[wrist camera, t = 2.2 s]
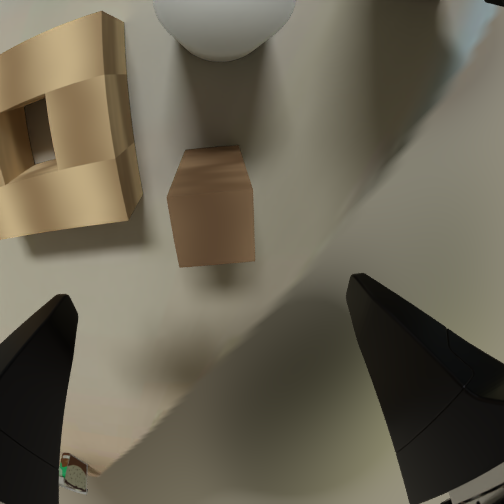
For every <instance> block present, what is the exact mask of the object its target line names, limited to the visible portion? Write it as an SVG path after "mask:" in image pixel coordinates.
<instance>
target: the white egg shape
mask: <svg viewBox="0 0 504 504" xmlns="http://www.w3.org/2000/svg"><path fill="white" fill-rule="evenodd" d="M295 2H296V0H153V5H154V9H155V13H156V15H157V18H158V20H159V21H160V23H161V24H162V26H163V27H164V28H165V29H166V30H167V31H168V32H169V33H170V34H171V35H172V36H173V37H174V38H175V39H176V40H177V41H178V42H179V43H180V44H181V45H182V46H184V47H185V48H186V49H187V50H188V51H189V52H190V53H192V54H193V55H195V56H197V57H199V58H201V59H204V60H207V61H213V62H227V61H233V60H236V59H239V58H242V57H244V56H246V55H248V54H249V53H251V52H252V51H253V50H255V49H256V48H257V47H258V46H260V45H261V44H262V43H264V42H265V41H266V40H268V39H269V38H270V37H272V36H273V35H274V34H276V33H277V32H278V31H279V30H280V29H281V28H282V27H283V26H284V25H285V24H286V22H287V21H288V20H289V18H290V16H291V14H292V12H293V10H294V7H295Z"/></svg>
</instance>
